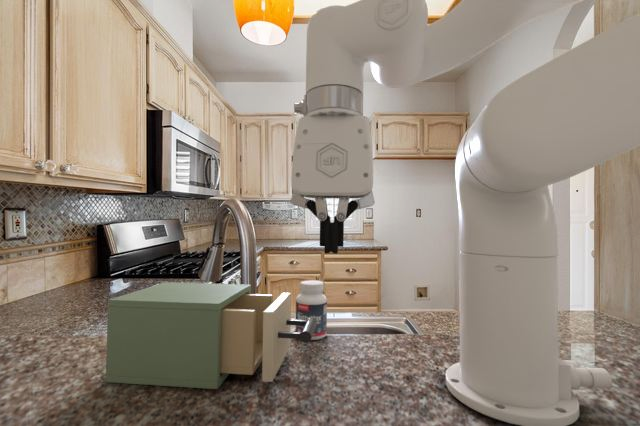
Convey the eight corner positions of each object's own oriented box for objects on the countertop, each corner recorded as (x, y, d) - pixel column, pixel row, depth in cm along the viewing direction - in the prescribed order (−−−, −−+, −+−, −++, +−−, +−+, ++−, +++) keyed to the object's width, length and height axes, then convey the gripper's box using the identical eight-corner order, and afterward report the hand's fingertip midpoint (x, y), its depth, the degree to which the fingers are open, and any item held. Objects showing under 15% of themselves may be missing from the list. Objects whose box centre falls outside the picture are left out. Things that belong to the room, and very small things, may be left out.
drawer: (318, 348, 46) (318, 293, 46) (308, 384, 36) (309, 313, 36) (207, 342, 48) (208, 290, 48) (167, 375, 37) (169, 308, 38)
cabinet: (250, 349, 48) (251, 284, 48) (217, 389, 36) (218, 303, 36) (163, 345, 49) (165, 282, 49) (105, 382, 37) (107, 299, 38)
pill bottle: (292, 339, 52) (292, 284, 52) (298, 329, 57) (299, 279, 57) (324, 341, 51) (325, 285, 51) (328, 331, 56) (328, 280, 56)
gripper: (270, 101, 39) (266, 253, 38) (396, 98, 37) (394, 257, 37) (283, 121, 46) (281, 248, 46) (389, 119, 45) (387, 251, 44)
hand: (331, 252), depth 41 cm, fingers closed
